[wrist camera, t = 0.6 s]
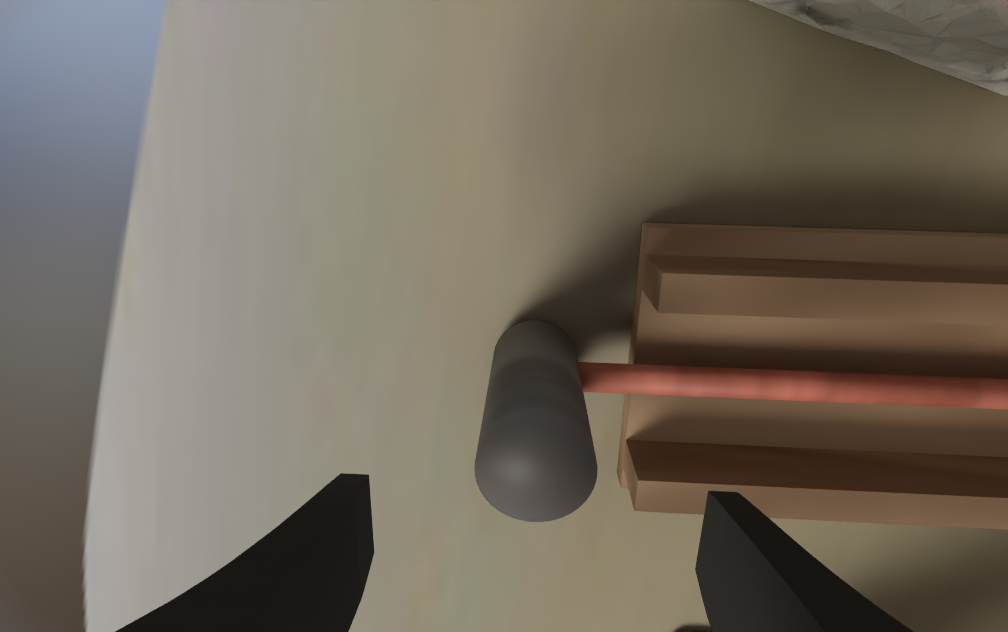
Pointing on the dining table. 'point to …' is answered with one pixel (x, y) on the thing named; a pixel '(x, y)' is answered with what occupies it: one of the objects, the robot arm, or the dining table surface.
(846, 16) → the packaged product
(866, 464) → the lane tray
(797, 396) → the grey and red rod
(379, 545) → the dining table surface
